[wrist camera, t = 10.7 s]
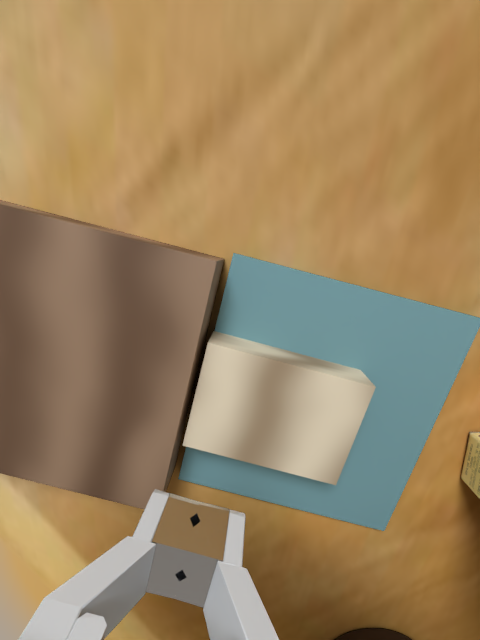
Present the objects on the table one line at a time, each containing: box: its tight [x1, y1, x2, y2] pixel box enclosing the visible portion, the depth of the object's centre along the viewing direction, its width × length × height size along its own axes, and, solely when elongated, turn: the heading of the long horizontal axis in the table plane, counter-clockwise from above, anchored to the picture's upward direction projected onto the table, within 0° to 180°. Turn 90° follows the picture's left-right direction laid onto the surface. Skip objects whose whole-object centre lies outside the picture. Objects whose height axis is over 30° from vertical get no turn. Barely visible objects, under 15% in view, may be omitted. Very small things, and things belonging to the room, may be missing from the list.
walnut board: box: [0, 200, 224, 509], centre depth 18 cm, size 20×16×4 cm
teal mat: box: [178, 253, 480, 531], centre depth 20 cm, size 16×17×1 cm
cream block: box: [182, 331, 376, 485], centre depth 19 cm, size 10×7×2 cm
